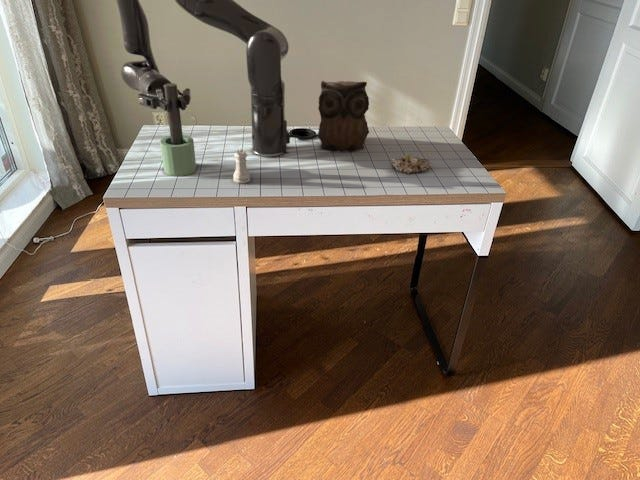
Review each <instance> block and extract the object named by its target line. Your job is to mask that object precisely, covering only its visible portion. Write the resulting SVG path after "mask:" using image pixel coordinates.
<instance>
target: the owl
mask: <svg viewBox="0 0 640 480" xmlns="http://www.w3.org/2000/svg"><path fill="white" fill-rule="evenodd" d="M367 84H368V82H367V81H349V80H348V81H344V80H339V81H324V80H322V81H320V89H321V92H320V94H319V96H318V112H319V115H320V123H319V125H318V126H319V127H318V132H317V134H318V137H317V138H318V139H319V141H320V143H321V146H320V149H322V150H325V151H329V152H341V153H343V152H350V153H351V152H356V151H358V150H361V149H364V145H365V143H366V140H367V137H368V135H369V134H370V130H369V126H368V122H367V119H366V114H367V111H368V110H369V106H370V100H369V98H370V97H369V96H368V93H367V91H366V87H367Z"/></svg>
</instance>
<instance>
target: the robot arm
mask: <svg viewBox="0 0 640 480" xmlns="http://www.w3.org/2000/svg"><path fill="white" fill-rule="evenodd" d="M115 1H116V3H117V8H118V12H119V18H120V23H121V25H120V26H121V32H122V39H123V46H124V50H125V51H126V52H127V53H128V54H131V55H135V56H141V57H143V59H144V60H130V61H126V62H124V63H123V64H122V66H121V68H120V76H121V79H122V81H123V82H124V84H125V85H126V86H127V87H128V88H130V89H131V90H136V91H137V92H140V93H138V94H137V96H138V103H139V105H140V106H144V107H145V108H149V109H152V110H156V109H158V108H159V109H162V110H163V111H165V112H171V109H170V103H169V102H168V101H167V100H166V97H165V90H164V84H168V83H172V81H171V80H169V79H168V78H167V77H166V76H165V75H163V74H161V72H160V69H159V67H158V64H157V62H156V60H155V57H154V53H153V49H152V45H151V36H150V27H149V26H150V25H149V21H148V18H147V15H146V13H145V11H144V8H143V6H142V4H141V2H140V0H115ZM174 2H175V3H176V4H177V5H178V6H179V7H180V8H181V9H182V10H184V11H185V12H186V13H188V14H189V15H191V16H192V17H193V18H195V19H196V20H198V21H199V22H201V23H203V24H204V25H206V26H209V27H211V28H214V29H217V30H220V31H223V32H225V33H228V34H230V35H232V36H234V37H236V38H238V39H239V40H240V41H242V42H243V43H244V44H246V47H245V48H246V50H245V52H246V53H245V54H246V70H247V81H248V84H249V86H250V105H251V107H250V108H251V110H250V111H251V144H252V148H251V151H252V153H253V154H255V155H256V156H260V157H264V158H265V157H266V158H272V157H277V156H278V157H279V156H281V155H283V154H287V145H288V144H289V145H290V144H291V138H296V139H297V140H299V141H305V140H311V139H315V138H319V137H318V133H316V134H313V135H309V136H303V137H301V136H300V135H299V134H291V133H290V132H289V130H288V122H287V120H286V118H285V117H286V116H285V110H286V109H285V107H286V106H285V105H286V104H285V102H286V101H285V97H286V96H285V95H286V94H285V93H286V86H285V85H286V84H285V81H284V80H283V79H282V61H283V60H284V59H285V58H286V57H287V55H288V54H289V47H290V46H289V41H288V39H287V37H286V35H285V33H284V32H283V31H282V30H280V29H279V28H278V27H275V26H274V25H272V24H270V23H268V22H267V21H265V20H263V19H261V18H260V17H258V16H256V15H254V14H253V13H251V12H250V11H248V10H247V9H245V8H244V7H242V6H241V5H240V3H238V2H236V1H235V0H174ZM177 91H178V99H179V108H180V111H186V109H187V108H188V105H190V102H191V99H192V96H191V89H190V88H185V89H183V90H182V91H180V89H178V88H177Z"/></svg>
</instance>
